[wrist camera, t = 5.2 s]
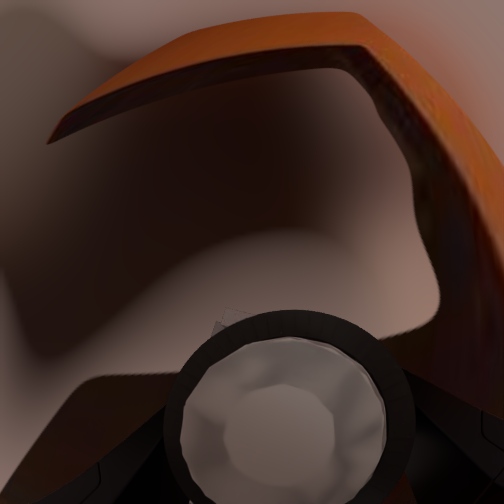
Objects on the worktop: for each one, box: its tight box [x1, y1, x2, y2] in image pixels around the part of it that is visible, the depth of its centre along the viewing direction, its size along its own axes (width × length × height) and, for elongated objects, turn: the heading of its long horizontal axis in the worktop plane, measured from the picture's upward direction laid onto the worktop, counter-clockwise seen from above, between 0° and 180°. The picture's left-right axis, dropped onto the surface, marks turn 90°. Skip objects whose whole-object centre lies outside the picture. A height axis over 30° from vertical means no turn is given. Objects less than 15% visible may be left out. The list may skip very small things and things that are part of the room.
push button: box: [163, 310, 416, 504], centre depth 8 cm, size 7×5×10 cm
